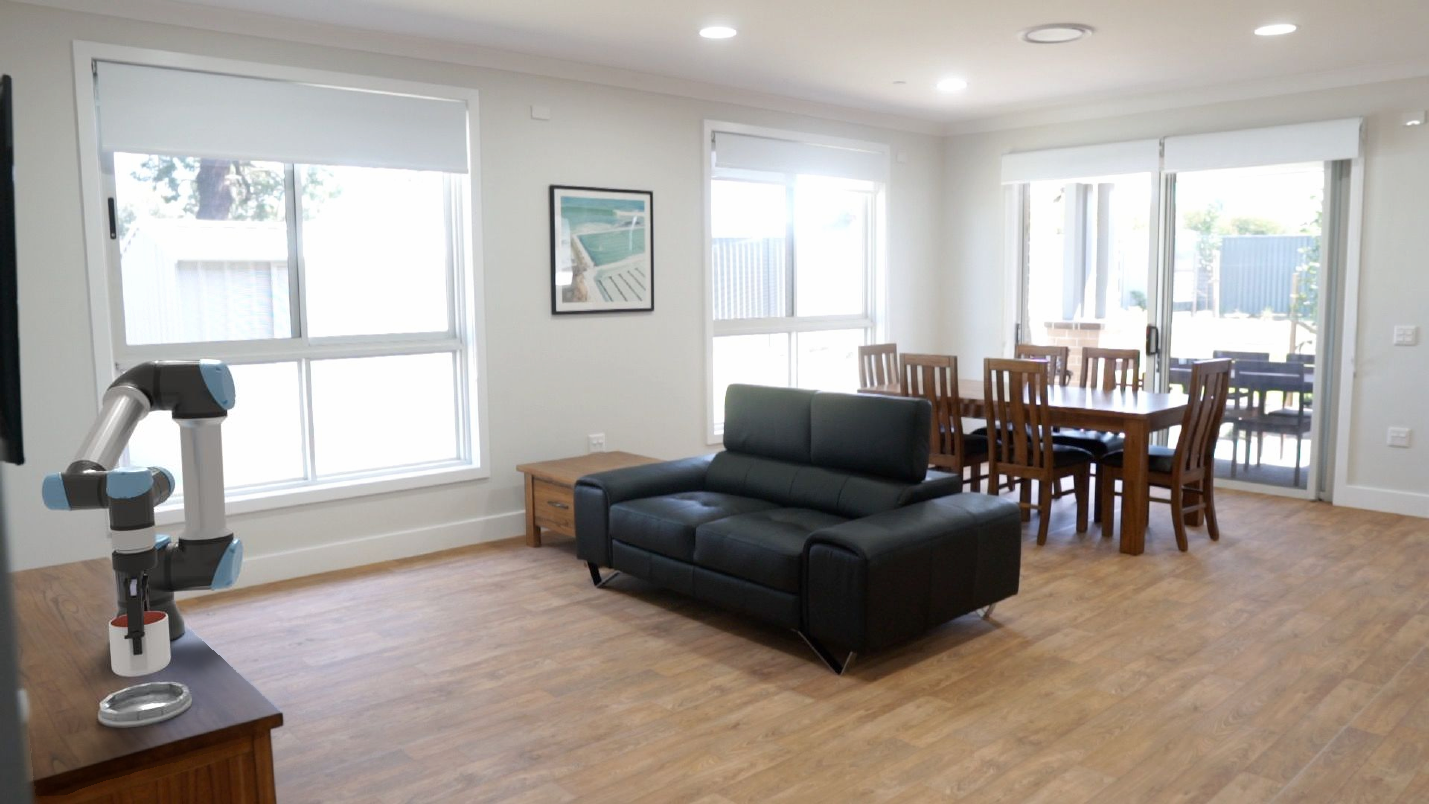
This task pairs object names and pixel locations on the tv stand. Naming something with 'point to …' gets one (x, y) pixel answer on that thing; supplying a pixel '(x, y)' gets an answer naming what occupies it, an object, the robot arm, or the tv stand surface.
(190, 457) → the robot arm
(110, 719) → the faceted steel dish
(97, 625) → the tv stand surface
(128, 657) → the cup
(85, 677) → the tv stand surface
